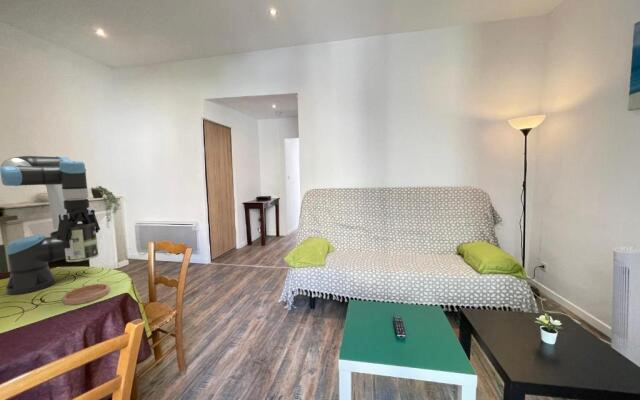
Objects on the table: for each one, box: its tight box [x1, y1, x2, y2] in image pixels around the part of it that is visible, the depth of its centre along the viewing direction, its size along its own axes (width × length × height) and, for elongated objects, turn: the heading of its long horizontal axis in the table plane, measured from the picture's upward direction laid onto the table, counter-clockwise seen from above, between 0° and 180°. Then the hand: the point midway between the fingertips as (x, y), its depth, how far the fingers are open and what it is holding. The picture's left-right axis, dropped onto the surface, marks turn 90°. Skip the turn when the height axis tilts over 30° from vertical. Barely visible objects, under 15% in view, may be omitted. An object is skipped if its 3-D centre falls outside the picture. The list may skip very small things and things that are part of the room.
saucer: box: [61, 283, 111, 306], centre depth 109 cm, size 15×15×2 cm
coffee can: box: [65, 222, 99, 263], centre depth 107 cm, size 10×10×14 cm
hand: (82, 251), depth 107 cm, fingers closed on coffee can, 10 cm apart
